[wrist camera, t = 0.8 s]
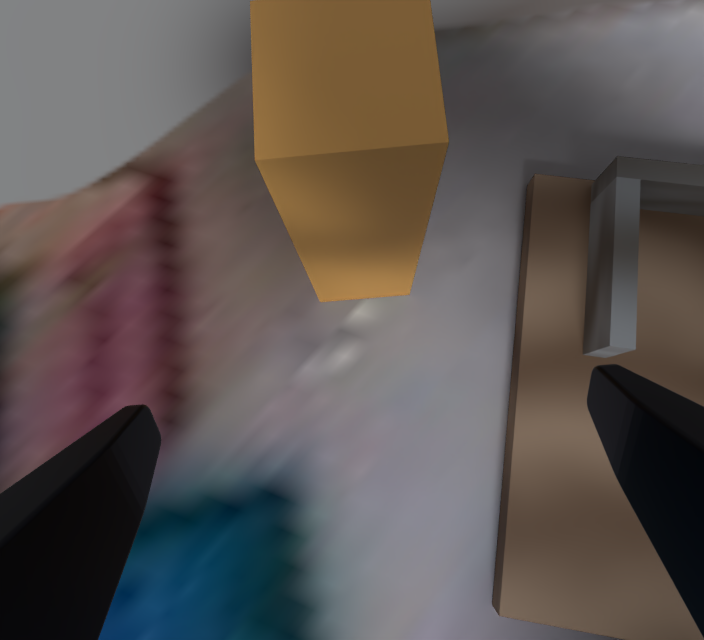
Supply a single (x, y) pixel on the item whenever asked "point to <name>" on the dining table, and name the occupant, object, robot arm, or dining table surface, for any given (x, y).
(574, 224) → the keeper
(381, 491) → the dining table surface
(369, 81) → the block
